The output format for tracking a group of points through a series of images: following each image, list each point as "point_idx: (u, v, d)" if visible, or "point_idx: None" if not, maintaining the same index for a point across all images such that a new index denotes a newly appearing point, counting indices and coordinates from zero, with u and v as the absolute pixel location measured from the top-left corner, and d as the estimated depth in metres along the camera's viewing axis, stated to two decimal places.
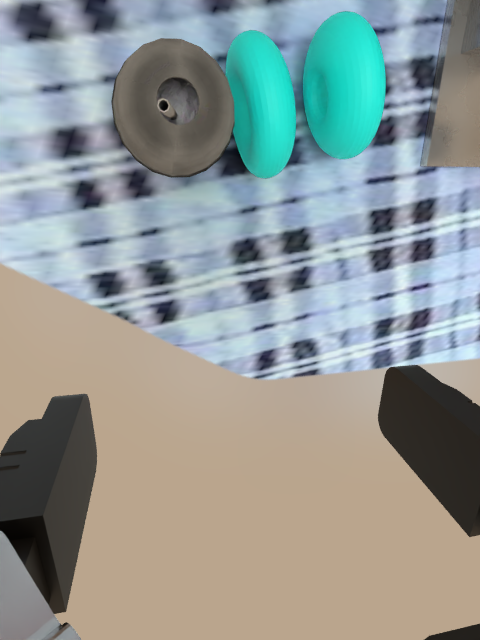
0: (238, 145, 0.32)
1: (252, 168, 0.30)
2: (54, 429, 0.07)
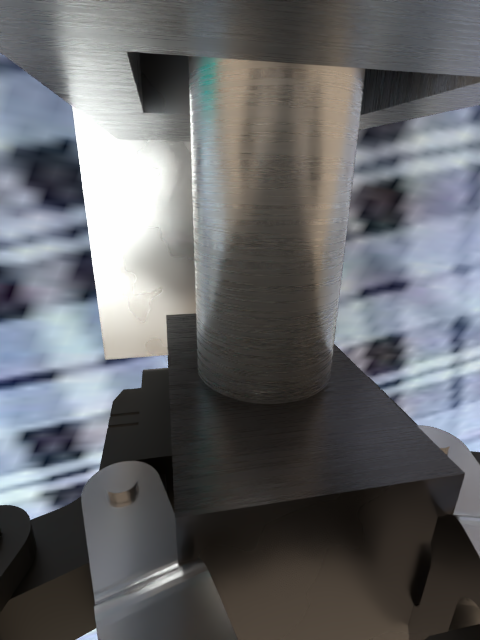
0: None
1: None
2: (156, 394, 0.09)
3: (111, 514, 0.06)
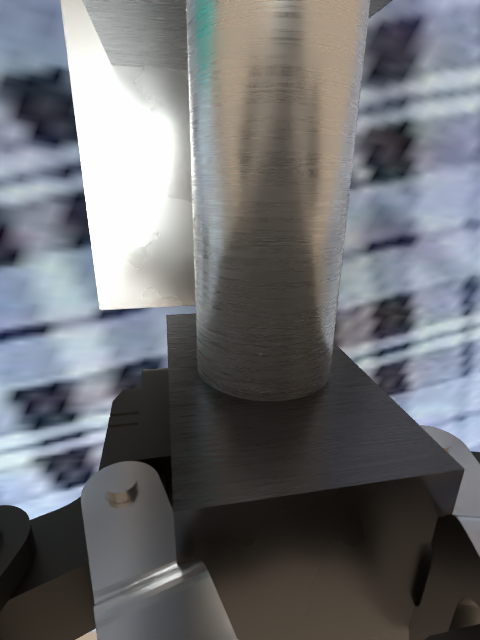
0: None
1: None
2: (155, 394, 0.09)
3: (110, 514, 0.06)
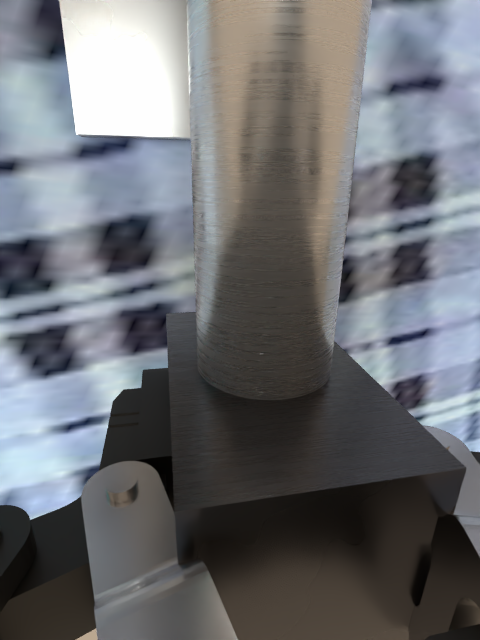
0: None
1: None
2: (156, 394, 0.09)
3: (111, 514, 0.06)
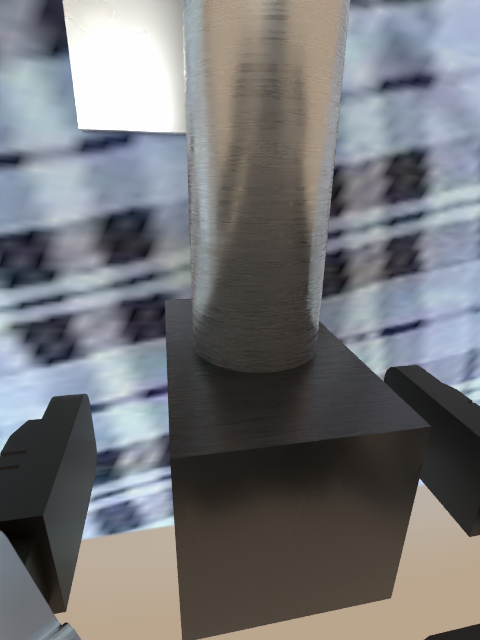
0: None
1: None
2: (54, 429, 0.07)
3: None
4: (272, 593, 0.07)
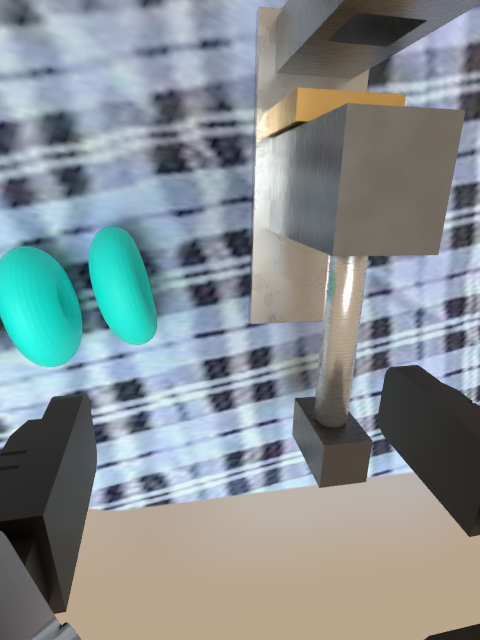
0: None
1: None
2: (54, 429, 0.07)
3: None
4: (339, 477, 0.30)
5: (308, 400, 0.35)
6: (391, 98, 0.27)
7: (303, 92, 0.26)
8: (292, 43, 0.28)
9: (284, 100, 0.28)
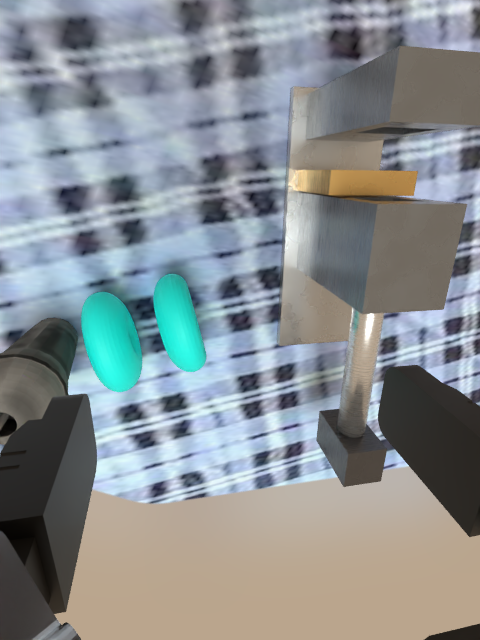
0: None
1: None
2: (54, 429, 0.07)
3: None
4: (359, 478, 0.37)
5: (331, 412, 0.42)
6: (406, 174, 0.33)
7: (335, 173, 0.31)
8: (324, 126, 0.33)
9: (316, 172, 0.34)
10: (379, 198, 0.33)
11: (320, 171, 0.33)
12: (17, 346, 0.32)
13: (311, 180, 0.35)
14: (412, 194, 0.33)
